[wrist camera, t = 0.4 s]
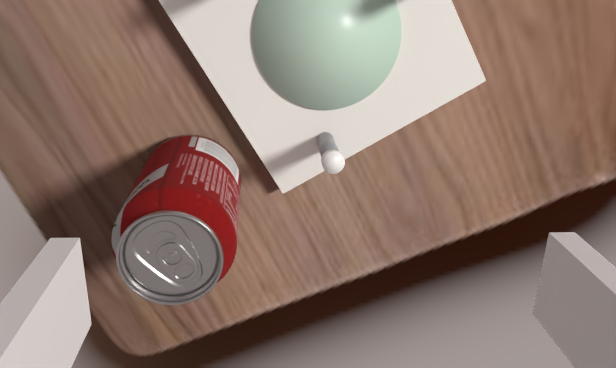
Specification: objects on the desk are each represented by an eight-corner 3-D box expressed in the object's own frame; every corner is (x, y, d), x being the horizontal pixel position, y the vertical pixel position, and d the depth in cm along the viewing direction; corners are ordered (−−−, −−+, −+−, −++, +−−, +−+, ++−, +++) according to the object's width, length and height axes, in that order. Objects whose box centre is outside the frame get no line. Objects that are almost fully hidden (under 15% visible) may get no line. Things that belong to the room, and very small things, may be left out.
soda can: (204, 113, 39) (183, 176, 27) (259, 188, 41) (260, 274, 30) (125, 164, 39) (74, 246, 28) (184, 235, 42) (158, 335, 31)
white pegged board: (153, -14, 35) (135, -9, 30) (378, -155, 33) (401, -176, 28) (282, 187, 41) (286, 221, 36) (479, 77, 39) (515, 96, 34)
